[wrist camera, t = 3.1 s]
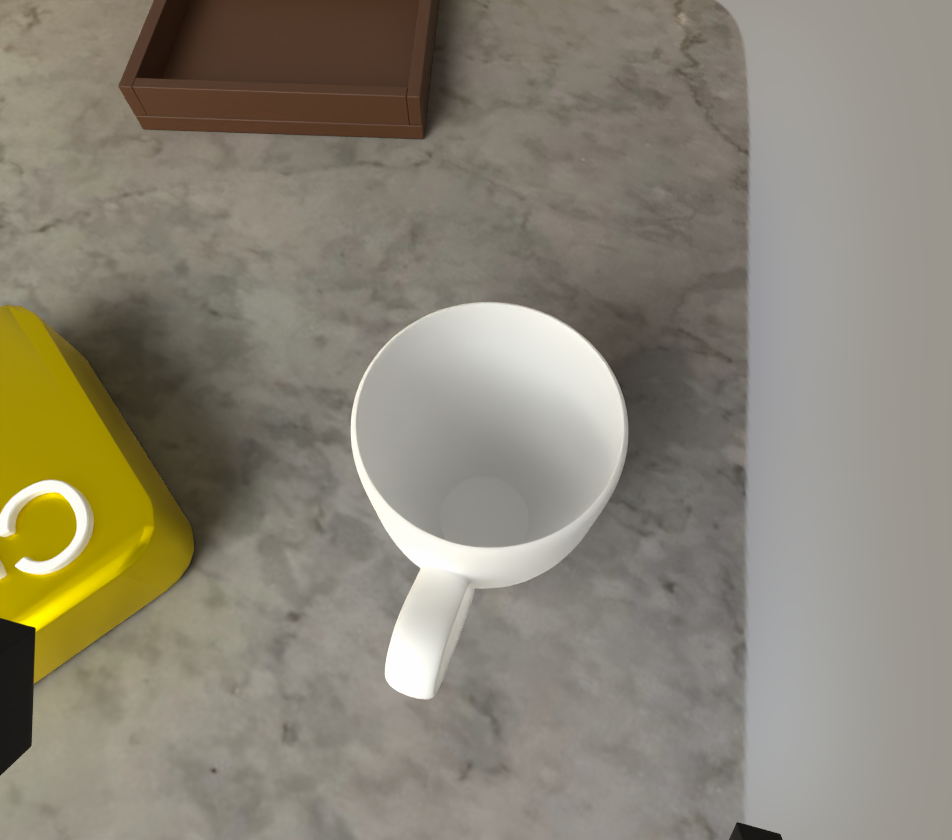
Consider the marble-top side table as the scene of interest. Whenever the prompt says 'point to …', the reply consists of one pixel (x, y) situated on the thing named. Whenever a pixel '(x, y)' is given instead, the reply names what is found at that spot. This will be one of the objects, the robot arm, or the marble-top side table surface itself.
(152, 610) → the marble-top side table surface
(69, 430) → the element tile
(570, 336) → the mug
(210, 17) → the tray
